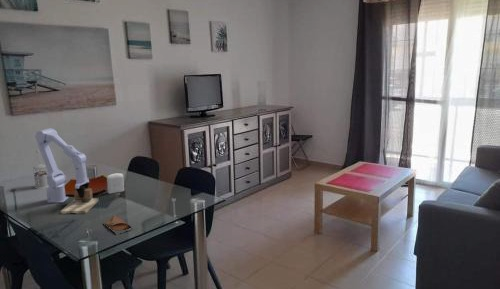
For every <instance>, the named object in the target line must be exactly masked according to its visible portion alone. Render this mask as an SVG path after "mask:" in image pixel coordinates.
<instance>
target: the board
mask: <svg viewBox="0 0 500 289" xmlns="http://www.w3.org/2000/svg"><path fill="white" fill-rule="evenodd" d="M98 202H99V197H98V198H97V197H95V198H94V197H93V198H92V199H91V200H75V198H74V199H72V200H71V201H70V202H69V203H68V204H66V206H65V207H63V208H62V209H61V210H59V211H60V214H65V215H66V214H67V213H68V214H69V215H71V214H70V213H76V214H87V213H88V212H89V211H90V210H91V209H92V208H93V207H94V206H95V205H96V204H97V203H98Z"/></svg>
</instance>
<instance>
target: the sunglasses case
mask: <svg viewBox="0 0 500 289" xmlns="http://www.w3.org/2000/svg"><path fill="white" fill-rule="evenodd" d="M103 224H105V225H107V226H108V227H110V228H111V229H112V230H115V231H121V230H126V229H129V228H131V229H132V226H131V225H130V224H128V223H127V222H126V221H125V220H124V219H122V218H120V217H118V216H117V215H116V214H114V215H113V216H111V218H109V219H107V220H106V221H105V222H104V223H103ZM108 227H107V228H108Z"/></svg>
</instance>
